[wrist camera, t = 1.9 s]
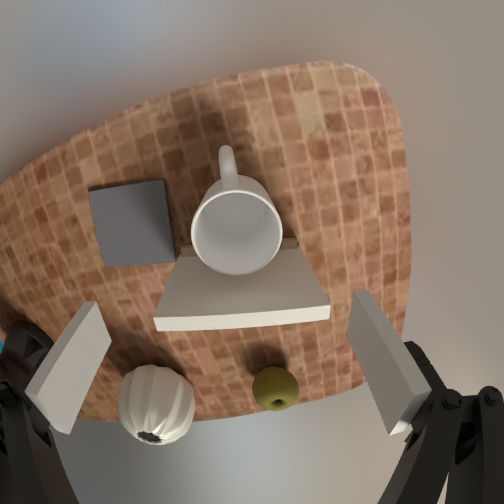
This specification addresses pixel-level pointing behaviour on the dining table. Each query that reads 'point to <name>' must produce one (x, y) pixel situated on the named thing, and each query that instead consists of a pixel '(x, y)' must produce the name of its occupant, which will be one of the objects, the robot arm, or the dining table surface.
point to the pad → (133, 224)
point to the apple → (275, 388)
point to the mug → (235, 222)
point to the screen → (241, 294)
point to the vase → (156, 404)
